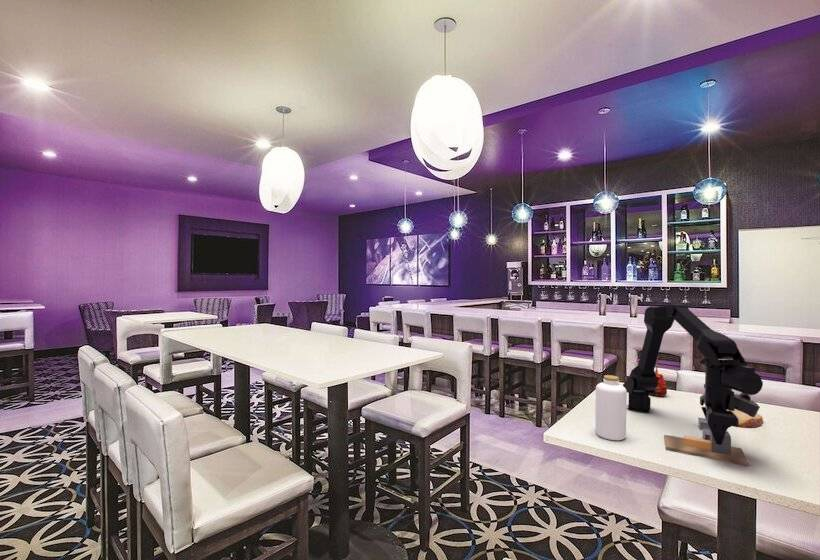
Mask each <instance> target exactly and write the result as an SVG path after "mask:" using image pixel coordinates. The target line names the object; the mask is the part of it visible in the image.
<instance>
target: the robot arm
mask: <svg viewBox="0 0 820 560" xmlns="http://www.w3.org/2000/svg"><path fill="white" fill-rule="evenodd" d="M643 316H644V318H643V323H644V325H645V327H646V333H645V336H644V337H645V338H644V341H643V345H642V348H641V352H640V357H639V361H638V363H637V366H634V367H633V369H632V370H631V371H630V374H629V376H628V378H627V379H626V381H625V382H624V383H623V384H622V386H624V387H625V389H626V391H627V393H628V406H627V410H628V411H633V412H640V413H644V414H645V413H646V414H649V413H650V411H651V403H652V402H651V400H652V399H651V396H650V395H649V394H654V392H655V388H656V387H657V383H658V380H659V377H657V375H656V373H655V371H656V370H655V369H656V361H657V360H658V357H659V353H660V350H661V349H660V348H661V346H662V343H663V338H664V334H665V333H666V332H667V331H669V330H670V329H671V328H672V326H673V324H674V322H676V323H677V324H678V325H680V326H681V327H682V329H684V330H685V331H686V332H687V333H688V334H689V335H690V336H691V337H692V338H693V339H694V340H695V342H696V348H697V349H698V351H699V352H700V353H701V354H702V356H704V358H702V359H701V360H699V364H700V365H704V366H705V374H704V375H705V376H704V383H703V389H704V394H702V395H701V396H699V404H700V406H701V410H702V413H703V415H704V417H705V418H706V420H707V423H708V425H709V427H710V430H711V432H712V434H713V437H714V439H715V442H716V444H719V445H721V444H722V442H723V439H724V436H725V434H726V431H728V429H729V428H732V427H733V426H734V427H735V428H740V427H739V419H738V418H737V416H736V415H735V414H734V413H733V412H732V411H734V409H736V410H739V411H741V412H743V413H746V414H748V415H749V416H751V417H755V416H756V414H757V413H759V410H760V406H759V404H758V403H757V402H755V401H754V400H751V396H754V395H757V394H759V393H760V391H761V390H762V388H763V386H764V383H763V382H764V381H763V380H762V377H761V376H760V375H759V373H756V369H755V367H753V366H748V364H747V362H746V359H745V357H743V355H742V353H741V351H740V349H739V347H738V344H737V343H736V342H735V340H734V339H733V338H731V337H729V336H727V335H726V334H724V333H721V332H719V331H718V332H717V331H715V330H713V329H711V327H710V326H709V325H707V324H706V323H705V322H704V321H703V320H701V319H700V318H699V317H698V316H697V315H696V314H695V313H693V311H691V310H690V309H689V306H687V305H686V304H683V303H671V304H667V305H663V306H648V307H646V309H645V311H644V315H643ZM733 390H734V391H733ZM735 391H737V392H740V393H739V394H735ZM727 410H730V411H727ZM734 427H733V428H734Z"/></svg>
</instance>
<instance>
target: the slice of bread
mask: <svg viewBox="0 0 820 560" xmlns="http://www.w3.org/2000/svg"><path fill="white" fill-rule="evenodd" d="M727 411H730V410H727ZM732 412H733V413H734V414H735V415H736V416H737V418H738V419H739V427H738V428H740V429H747V428H759V427H762V425H763V422H764V419H763V416H762V415H760V414H759V412H757V414H756V416H755V417H751V416H749V415H748V414H746V413H743V412H741V411H739V410H736V409H734V411H732ZM732 427H733V428H734V426H732Z"/></svg>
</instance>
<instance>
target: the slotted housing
mask: <svg viewBox="0 0 820 560" xmlns="http://www.w3.org/2000/svg"><path fill="white" fill-rule="evenodd" d="M697 421H698V422H697V425H698V428H699V431H702V439H704V440H710V427H709V425H708V423H707V420H706V418H704V417H698V419H697Z"/></svg>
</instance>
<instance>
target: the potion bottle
mask: <svg viewBox="0 0 820 560" xmlns="http://www.w3.org/2000/svg"><path fill="white" fill-rule="evenodd" d="M619 378H620V377H619V376H616V375H611V374H606V375H603V379H602V380H603V382H599V383H598V384H596V386H595V422H594V423H595V433H596V435H598V436H599V437H601V438H603V439H606V440H609V441H622V440H624V439H625V438H626V436H627V408H628V406H627V403H628V401H627V399H628V397H627V395H628V394H627V393H628V392H627V391H626V389H625V387H624V386H623V384H620V380H619Z"/></svg>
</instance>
